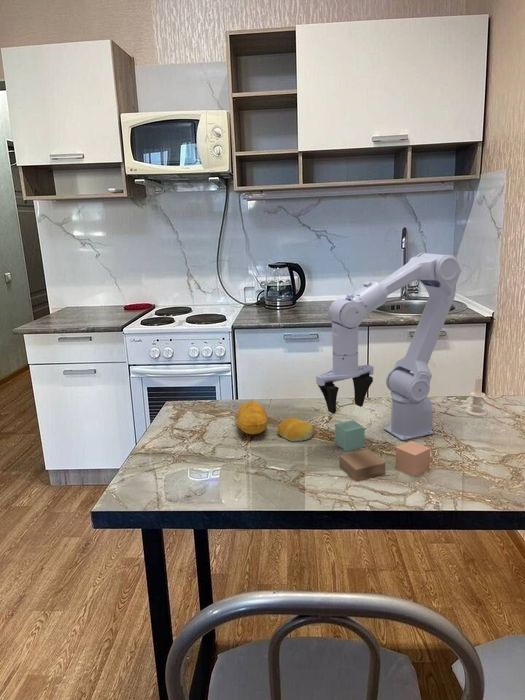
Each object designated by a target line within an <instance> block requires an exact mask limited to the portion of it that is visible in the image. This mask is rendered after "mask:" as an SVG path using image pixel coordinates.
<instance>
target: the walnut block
mask: <svg viewBox="0 0 525 700" xmlns="http://www.w3.org/2000/svg"><path fill="white" fill-rule="evenodd" d="M338 456H339V463H338V464H339V468H340V469H341V468H342V469H341V470H343V471H344V472H345V473H346V474H347V475H348V476H349V477H350V478H351V479H352V480H354V482H359V481H364V480H368V479H371V478H372V479H373V478H376V477H379V476H384V475H386V462H385V461H383V460H382V459H380V458H379V456H377V455H376V454H374V453H373V452H372V451H370V450H369V449H363V450H359V451H354V452H350V453H345V454H341V455H338Z"/></svg>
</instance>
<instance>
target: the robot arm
mask: <svg viewBox="0 0 525 700" xmlns="http://www.w3.org/2000/svg"><path fill="white" fill-rule="evenodd" d="M461 274H462V268H461V266H460V263H459V261H458V259H457V257H455V256H454V255H452V254H437V253H429V252H426V251H425V252H421V253H418V254H416V256H413V257H411V258H410V259H409V260H408V262H407V263H406V264H404V265H402V266H401V267H399V268H398V269H397V270H396V271H394V272H392V273H391V274H390V275H388V276H387V277H386V278H384V279H383V280H382V281H379V282H377V281H375V280H372V281H365V282H364V283H363V284H362V285H363V286H362V287H360V288H359V289H357V290H355V291H354V292H349V293H347V294H346V296H345V299H344V298H337V299H335V300H333V301H332V303H331V305H330V306H329V309H328V311H327V312H326V317H327V318H328V321H330V323H331V331H332V335H331V338H332V343H331V344H332V369H331V370H329V371H326V372H324V373H322V374H317V375H315V378H316V380H315V382H316V385H317V386H318V388H319V390H320V392H321V393H322V395H323V398H324V400H325V404H326V407H327V412H329V413H331V414H332V415H334V414H336V412H337V397H338V392H339V389H340V388H339V387H338V386H336V384H335V383H336V382H339V381H344V380H349V379H351V380H352V383H353V384H352V385H353V390H354V391H353V394H354V404H355V405H356V406H358V407H360V408H361V407H363V405H364V402H365V399H366V396H367V393H368V390H369V388H370V387H371V385H372V384H373V382H374V377H373V376H372V375H374V370H375V369H374V368H375V367H374V365H373V366H372V365H370V364H364V365H363V364H362V365H359V326H360V325H361V323H362V322H363V320H364V318H365V316H367V315H369V314H370V313H371V312H373V311H374V310H376V309H378V308H380V307H381V306H382V305H384V304H386V302H387V300H388V296H389V295H391V294H393V293H395V292H396V291H398V290H400V289H402V288H404V287H406V286H407V285H410V284H411V283H413V282H414V281H417V280H418V281H419V283H421V284H422V286H423V287H424V288H425V289H426V292H427V293H428V299H427V300H426V304H425V306H424V309H423V311H422V312H421V313H422V314H421V315H420V319H419V321H418V324H417V326H416V329H415V330H414V334H413V336H412V339H411V341H410V343H409V346H408V348H407V351H406V354H405V355H404V356H403V358H401V359H399V360H396V362H395V364H394V366H393V368H392V369H391V370H390V371H389V372H388V373H387V376H386V380H385V383H386V387H387V389H388V390H389V391H390V396H391V413H390V414H391V416H390V417H391V418H390V425H386V426H383V430H385V431H386V432H387V433H389V434H391V435H392V436H393V437H394V436H395V437H396V438H397V439H398V440H401V441H406V440H411V439H415V438H420V437H425V436H428V435H433V434H435V433H434V432H435V431H434V430H433V429H432V428H433V411H434V410H433V404H432V401H431V399H430V398H429V397H428V396H429V393H430V388H431V387H430V386H431V385H430V384H431V380H432V377H433V374H432V373H431V370H430V368H429V366H428V364H429V362H430V360H431V356H432V354H433V351H434V350H435V347H436V344H437V343H438V339H439V337H440V334H441V333H442V329H443V327H444V325H445V323H446V321H447V316H448V315H449V312H450V310H451V307H452V304H453V302H454V300H455V297H456V292H457V283H458V281H459V277H460V275H461Z"/></svg>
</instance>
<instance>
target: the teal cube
mask: <svg viewBox="0 0 525 700" xmlns="http://www.w3.org/2000/svg"><path fill="white" fill-rule="evenodd" d="M334 443H335V444H336V445H337V444H338V445H339V446H338V445H337V446H338V447H340V448H341V449H342V448H343V449H344V452H349V451H352V450H356V449H361V448H364V447H365V427H364V426H363V425H361V424H360V423H358V422H357V421H355V420H354V419H352V420H347V421H343V422H336V423H334ZM343 449H342V450H343ZM348 450H349V451H348Z"/></svg>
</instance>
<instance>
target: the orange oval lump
mask: <svg viewBox="0 0 525 700" xmlns="http://www.w3.org/2000/svg"><path fill="white" fill-rule="evenodd" d="M236 422H237V427H238V428H239V430H241V431H243V432H244V433H245V434H249V435H258V434H260V433H262V432H265V430H266V428H267V426H268V415H267V412H266V410H265V408H264V406H262V405H261V404H260V403H259V402H258V401H256V400H255V401H254V400H253V401H252V400H251V401H246V402H244V403H242V404H241V405H240V406H238V410H237V414H236Z"/></svg>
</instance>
